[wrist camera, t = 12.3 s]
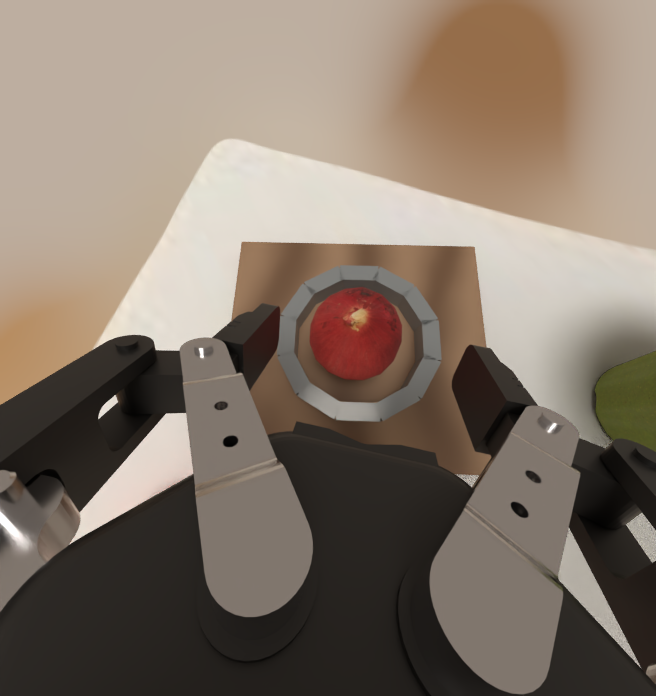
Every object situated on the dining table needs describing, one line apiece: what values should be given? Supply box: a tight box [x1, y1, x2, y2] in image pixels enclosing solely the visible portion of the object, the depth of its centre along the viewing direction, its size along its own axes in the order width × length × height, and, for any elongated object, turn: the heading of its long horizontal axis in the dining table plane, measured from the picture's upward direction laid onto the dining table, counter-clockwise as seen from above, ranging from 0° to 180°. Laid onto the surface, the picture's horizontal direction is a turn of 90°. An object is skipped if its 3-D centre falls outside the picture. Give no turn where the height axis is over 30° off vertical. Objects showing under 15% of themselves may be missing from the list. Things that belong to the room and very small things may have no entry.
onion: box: [309, 287, 402, 380], centre depth 17 cm, size 6×6×8 cm
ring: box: [277, 265, 442, 422], centre depth 20 cm, size 11×11×2 cm
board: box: [231, 242, 491, 475], centre depth 22 cm, size 20×18×2 cm
